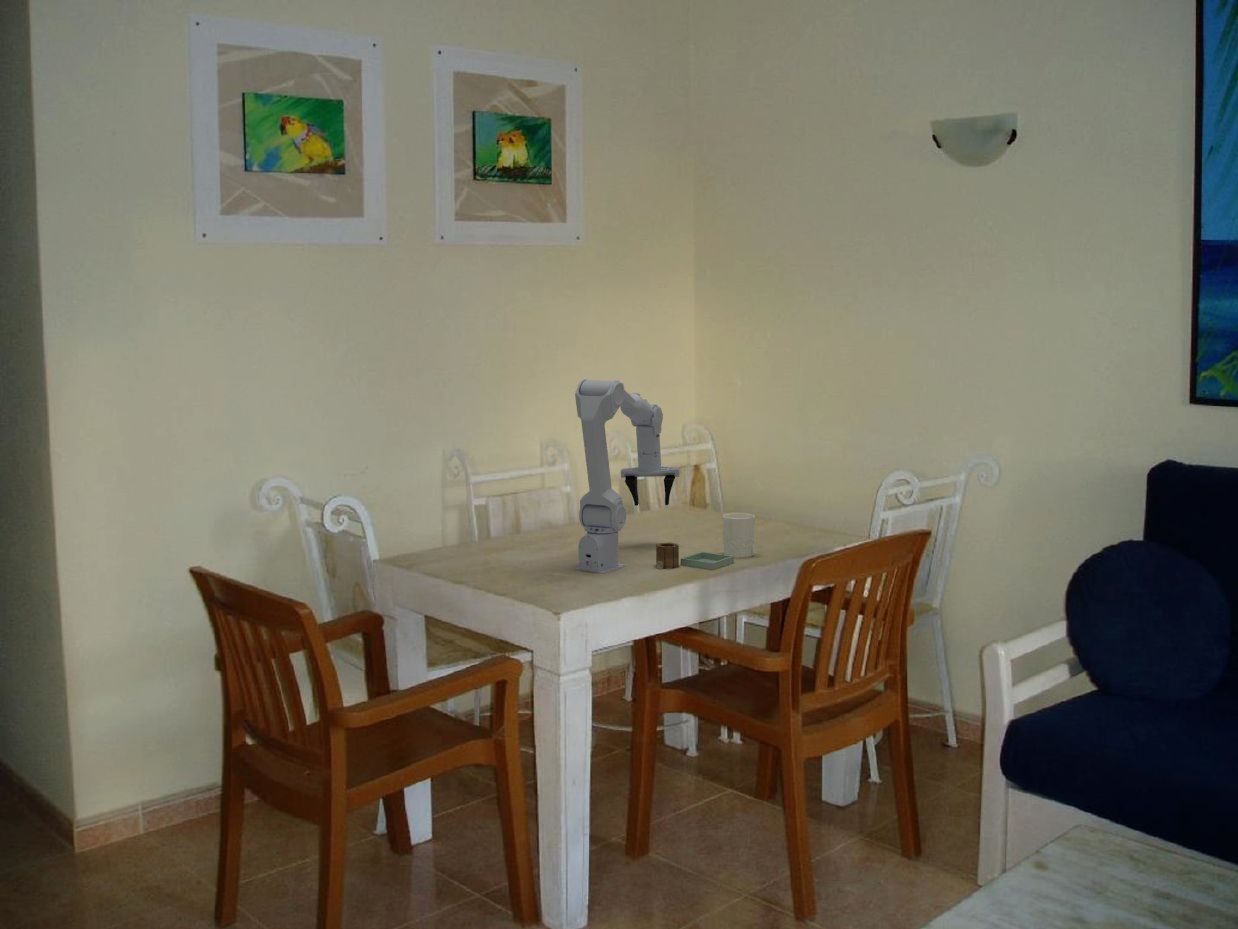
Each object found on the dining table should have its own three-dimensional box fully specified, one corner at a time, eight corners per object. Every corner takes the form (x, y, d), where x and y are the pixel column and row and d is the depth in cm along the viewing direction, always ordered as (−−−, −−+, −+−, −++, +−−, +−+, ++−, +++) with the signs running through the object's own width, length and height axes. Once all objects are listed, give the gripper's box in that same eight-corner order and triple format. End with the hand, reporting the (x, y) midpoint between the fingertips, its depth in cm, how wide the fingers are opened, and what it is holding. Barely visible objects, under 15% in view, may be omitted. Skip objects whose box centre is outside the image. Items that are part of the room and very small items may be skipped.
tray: (712, 571, 295) (712, 563, 295) (680, 566, 301) (680, 558, 300) (733, 564, 302) (733, 556, 302) (701, 559, 308) (701, 551, 307)
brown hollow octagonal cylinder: (664, 562, 303) (664, 542, 303) (682, 565, 300) (682, 544, 300) (650, 567, 299) (649, 546, 298) (667, 570, 296) (667, 549, 295)
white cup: (760, 554, 313) (760, 514, 311) (746, 561, 306) (746, 519, 305) (730, 551, 317) (730, 511, 315) (716, 557, 310) (716, 516, 309)
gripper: (679, 447, 321) (682, 499, 324) (622, 448, 323) (625, 500, 326) (676, 454, 314) (679, 507, 317) (618, 455, 316) (621, 508, 320)
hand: (651, 504), depth 321 cm, fingers open, 7 cm apart
